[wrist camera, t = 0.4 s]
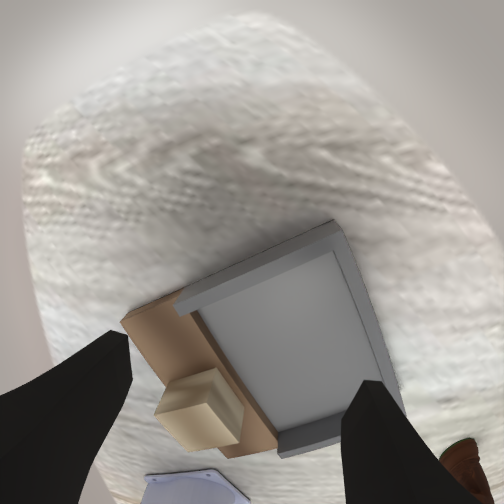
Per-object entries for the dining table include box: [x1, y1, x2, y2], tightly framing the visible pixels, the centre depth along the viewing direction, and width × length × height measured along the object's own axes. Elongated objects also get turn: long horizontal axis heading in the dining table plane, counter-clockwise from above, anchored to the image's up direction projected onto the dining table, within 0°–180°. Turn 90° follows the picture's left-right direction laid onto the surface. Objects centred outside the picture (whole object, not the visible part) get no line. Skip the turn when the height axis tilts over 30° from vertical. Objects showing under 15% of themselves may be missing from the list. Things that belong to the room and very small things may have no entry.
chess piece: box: [439, 439, 494, 504], centre depth 19 cm, size 5×5×10 cm
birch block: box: [154, 368, 245, 452], centre depth 19 cm, size 4×4×4 cm
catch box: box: [173, 220, 406, 459], centre depth 19 cm, size 10×15×3 cm, turn 27°
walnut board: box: [120, 288, 278, 459], centre depth 22 cm, size 5×15×1 cm, turn 27°
